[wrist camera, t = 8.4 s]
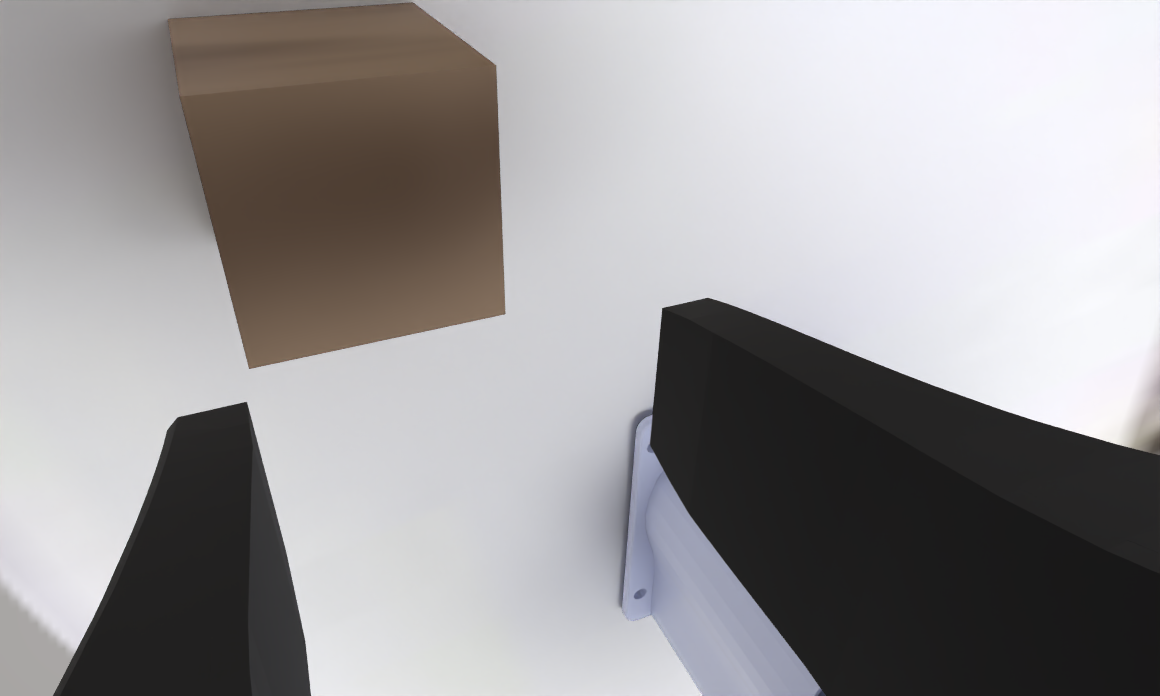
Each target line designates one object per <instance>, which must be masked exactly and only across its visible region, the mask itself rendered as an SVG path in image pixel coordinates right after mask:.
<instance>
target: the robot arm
mask: <svg viewBox="0 0 1160 696" xmlns="http://www.w3.org/2000/svg"><path fill="white" fill-rule="evenodd" d="M622 611H623V614H624V615H625V617H626V618H627V619H628V620H631V621H635V620H638V619H641V618H644V617H646V616H649V615H652V616H653V618H654V619H655V621H656V622H657V624H658V625H659V627H660V629H661V630H662V632H663V633H664V635H665V637H666V638H667V640H668V641H669V643H670V645H671V646H672V648H673V649H674V651H675V653H676V654H677V656H678V657H679V659H680V661H681V662H682V664H683V665H684V667H685V669H686V670H687V672H688V673H689V675H690V677H691V678H692V680H693V681H694V683H695V685H696V686H697V688H698V689H699V691H700V692H701V694H702V696H1160V455H1156V454H1152V453H1148V452H1144V451H1140V450H1136V449H1132V448H1128V447H1124V446H1121V445H1117V444H1113V443H1110V442H1106V441H1103V440H1099V439H1096V438H1092V437H1089V436H1086V435H1082V434H1079V433H1075V432H1072V431H1068V430H1065V429H1061V428H1058V427H1054V426H1051V425H1048V424H1044V423H1041V422H1037V421H1034V420H1031V419H1028V418H1025V417H1022V416H1019V415H1016V414H1012V413H1009V412H1006V411H1003V410H1000V409H997V408H994V407H992V406H989V405H986V404H983V403H980V402H978V401H975V400H972V399H969V398H966V397H963V396H961V395H958V394H955V393H952V392H949V391H947V390H944V389H941V388H938V387H935V386H933V385H930V384H928V383H925V382H922V381H920V380H917V379H914V378H912V377H909V376H907V375H904V374H901V373H899V372H896V371H894V370H891V369H889V368H886V367H884V366H881V365H879V364H876V363H874V362H871V361H869V360H866V359H864V358H861V357H859V356H856V355H854V354H851V353H849V352H847V351H844V350H842V349H839V348H837V347H834V346H832V345H830V344H827V343H825V342H822V341H820V340H817V339H815V338H813V337H810V336H808V335H805V334H803V333H800V332H798V331H796V330H793V329H791V328H788V327H786V326H784V325H781V324H779V323H776V322H774V321H771V320H769V319H766V318H764V317H761V316H759V315H756V314H753V313H751V312H748V311H746V310H743V309H740V308H738V307H735V306H732V305H729V304H726V303H723V302H720V301H717V300H713V299H710V298H705V299H701V300H696V301H692V302H688V303H683V304H679V305H674V306H670V307H665V308H662V318H661V329H660V340H659V351H658V361H657V372H656V383H655V394H654V405H653V415H650V416H648V417H645V418H644V419H643V420H642V421H641V422H640V423H639V425H638V427H637V430H636V439H635V452H634V464H633V477H632V490H631V502H630V515H629V528H628V540H627V553H626V565H625V578H624V591H623V603H622ZM53 696H311V692H310V682H309V673H308V663H307V654H306V644H305V638H304V633H303V629H302V624H301V619H300V615H299V610H298V605H297V600H296V596H295V591H294V586H293V582H292V577H291V573H290V568H289V563H288V559H287V554H286V550H285V546H284V542H283V538H282V534H281V531H280V527H279V523H278V519H277V515H276V511H275V508H274V504H273V500H272V496H271V492H270V489H269V485H268V481H267V477H266V473H265V469H264V466H263V462H262V458H261V454H260V450H259V447H258V443H257V439H256V435H255V431H254V428H253V424H252V420H251V416H250V412H249V408H248V405H247V402H244V403H240V404H235V405H231V406H226V407H222V408H217V409H213V410H209V411H204V412H200V413H195V414H191V415H186V416H182V417H178V418H177V419H176V420H175V421H174V423H173V424H172V425H171V426H170V428H169V429H168V430H167V434H166V437H165V441H164V445H163V448H162V452H161V455H160V458H159V461H158V464H157V467H156V470H155V473H154V476H153V479H152V482H151V485H150V487H149V490H148V493H147V495H146V498H145V501H144V503H143V506H142V508H141V511H140V513H139V516H138V518H137V521H136V524H135V526H134V529H133V531H132V533H131V535H130V538H129V540H128V542H127V545H126V547H125V549H124V551H123V554H122V556H121V558H120V560H119V563H118V565H117V567H116V569H115V572H114V574H113V576H112V578H111V581H110V583H109V585H108V588H107V590H106V592H105V594H104V597H103V599H102V601H101V603H100V605H99V607H98V609H97V611H96V613H95V615H94V618H93V620H92V622H91V623H90V625H89V627H88V629H87V631H86V633H85V635H84V637H83V639H82V641H81V643H80V645H79V647H78V649H77V651H76V652H75V654H74V656H73V658H72V660H71V662H70V664H69V666H68V668H67V670H66V672H65V674H64V676H63V678H62V679H61V681H60V683H59V686H58V687H57V689H56V691H55V693H54V695H53Z"/></svg>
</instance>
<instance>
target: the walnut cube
mask: <svg viewBox="0 0 1160 696" xmlns="http://www.w3.org/2000/svg"><path fill="white" fill-rule="evenodd" d="M168 25H169V31H170V37H171V44H172V50H173V57H174V63H175V70H176V76H177V83H178V89H179V96H180V100H181V104H182V108H183V112H184V116H185V120H186V124H187V127H188V131H189V135H190V139H191V143H192V147H193V151H194V155H195V159H196V163H197V167H198V170H199V174H200V178H201V182H202V186H203V190H204V194H205V198H206V202H207V206H208V210H209V214H210V217H211V221H212V225H213V229H214V233H215V237H216V241H217V245H218V249H219V253H220V257H221V260H222V264H223V268H224V272H225V276H226V280H227V284H228V288H229V292H230V296H231V300H232V304H233V307H234V311H235V315H236V319H237V323H238V327H239V331H240V335H241V339H242V343H243V347H244V351H245V354H246V358H247V362H248V366H249V369H251V368H256V367H261V366H265V365H270V364H275V363H279V362H284V361H289V360H293V359H298V358H303V357H307V356H312V355H317V354H321V353H326V352H331V351H335V350H340V349H345V348H349V347H354V346H359V345H363V344H368V343H373V342H377V341H382V340H387V339H391V338H396V337H401V336H405V335H410V334H415V333H419V332H424V331H429V330H433V329H438V328H443V327H448V326H452V325H457V324H462V323H466V322H471V321H476V320H480V319H485V318H490V317H494V316H499V315H504V314H505V293H504V266H503V239H502V212H501V185H500V158H499V130H498V103H497V76H496V65H495V64H493V63H492V62H491V61H490V60H488V59H487V58H486V57H484V56H483V55H482V54H480V53H479V52H478V51H476V50H475V49H474V48H472V47H471V46H470V45H468V44H467V43H466V42H464V41H463V40H462V39H460V38H459V37H458V36H456V35H455V34H454V33H453V32H451V31H450V30H449V29H447V28H446V27H445V26H443V25H442V24H441V23H439V22H438V21H437V20H435V19H434V18H433V17H431V16H430V15H429V14H427V13H426V12H425V11H423V10H422V9H421V8H419V7H418V6H417V5H416V4H414V3H399V4H385V5H370V6H355V7H340V8H325V9H310V10H295V11H280V12H265V13H250V14H235V15H220V16H205V17H190V18H175V19H168Z"/></svg>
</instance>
